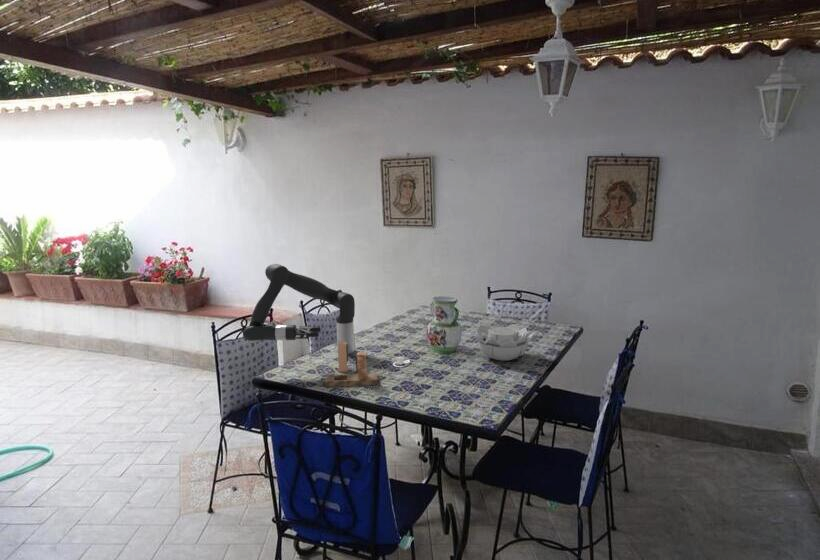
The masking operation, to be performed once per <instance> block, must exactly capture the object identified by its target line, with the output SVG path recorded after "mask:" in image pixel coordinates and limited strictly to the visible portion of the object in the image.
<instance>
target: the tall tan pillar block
mask: <svg viewBox="0 0 820 560" xmlns="http://www.w3.org/2000/svg"><path fill="white" fill-rule="evenodd" d="M337 354H338V356H337V357H338V359H337V360H338V372H340V373H342V372H343V373H344V372H348V368H349V367H348V366H349V365H348V362H349V354H348V344H347V342H338V347H337Z"/></svg>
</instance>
